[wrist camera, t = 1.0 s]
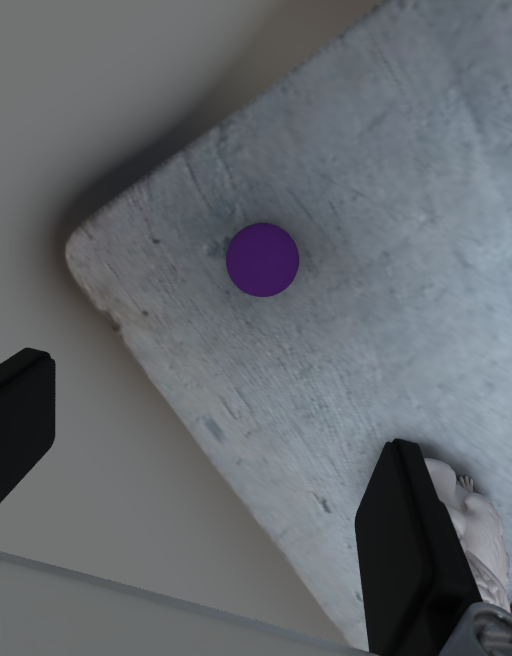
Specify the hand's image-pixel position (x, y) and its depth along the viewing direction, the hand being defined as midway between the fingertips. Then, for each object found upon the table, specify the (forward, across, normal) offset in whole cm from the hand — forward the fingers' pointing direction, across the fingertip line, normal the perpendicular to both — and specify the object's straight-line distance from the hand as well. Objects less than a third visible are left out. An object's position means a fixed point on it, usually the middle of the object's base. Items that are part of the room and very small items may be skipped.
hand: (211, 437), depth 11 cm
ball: (+15, +1, -1) cm, 15 cm away
